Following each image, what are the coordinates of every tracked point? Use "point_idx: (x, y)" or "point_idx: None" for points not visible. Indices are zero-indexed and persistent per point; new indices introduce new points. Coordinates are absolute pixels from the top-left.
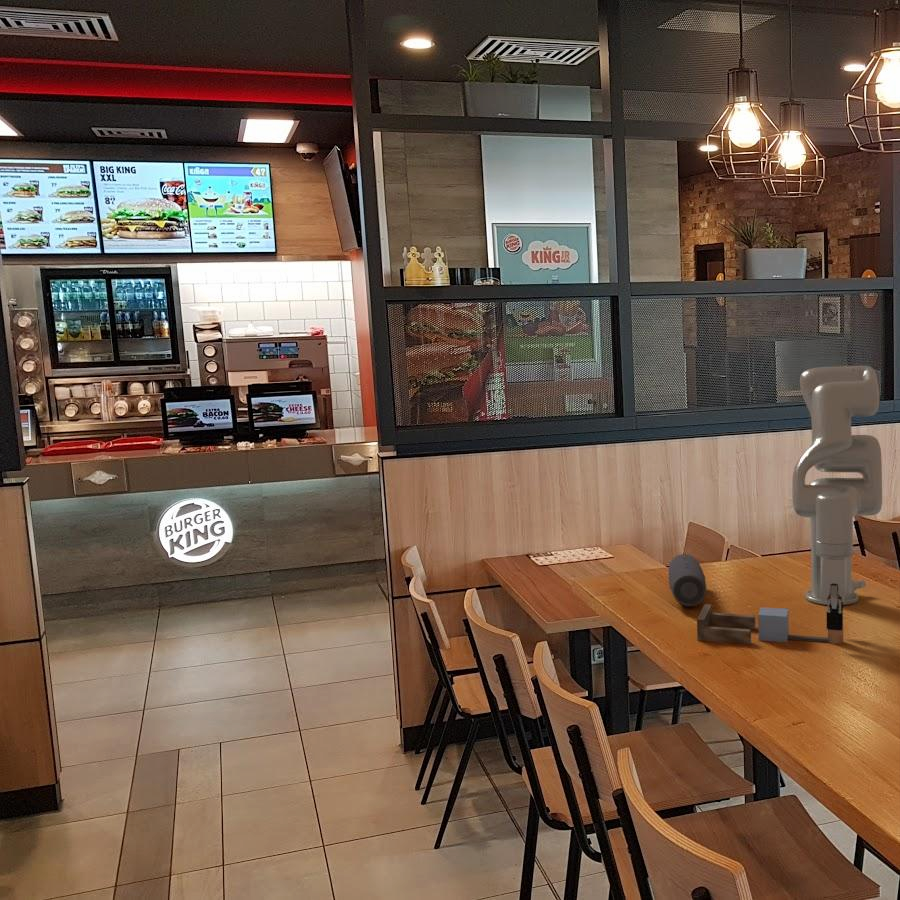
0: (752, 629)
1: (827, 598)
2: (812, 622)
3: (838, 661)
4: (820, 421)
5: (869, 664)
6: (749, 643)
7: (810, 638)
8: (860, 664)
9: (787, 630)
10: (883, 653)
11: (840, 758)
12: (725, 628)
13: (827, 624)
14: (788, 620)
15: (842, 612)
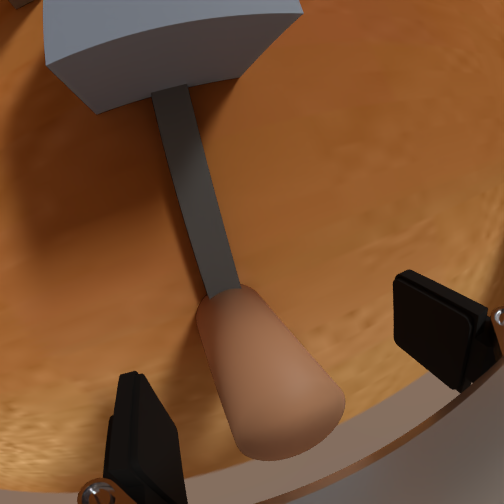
0: None
1: (474, 314)
2: (425, 147)
3: (22, 391)
4: None
5: (75, 458)
6: (14, 5)
7: (183, 212)
8: (55, 443)
9: (146, 82)
10: (198, 461)
11: None
12: None
13: (118, 398)
14: (263, 49)
15: (290, 455)
